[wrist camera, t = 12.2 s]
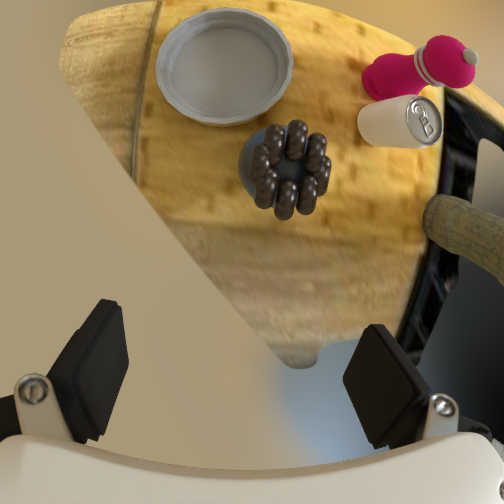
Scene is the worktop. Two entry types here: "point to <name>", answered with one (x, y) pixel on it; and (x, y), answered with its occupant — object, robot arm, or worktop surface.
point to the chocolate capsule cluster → (294, 149)
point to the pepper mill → (421, 69)
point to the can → (401, 122)
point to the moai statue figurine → (466, 232)
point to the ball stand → (283, 168)
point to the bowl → (224, 66)
